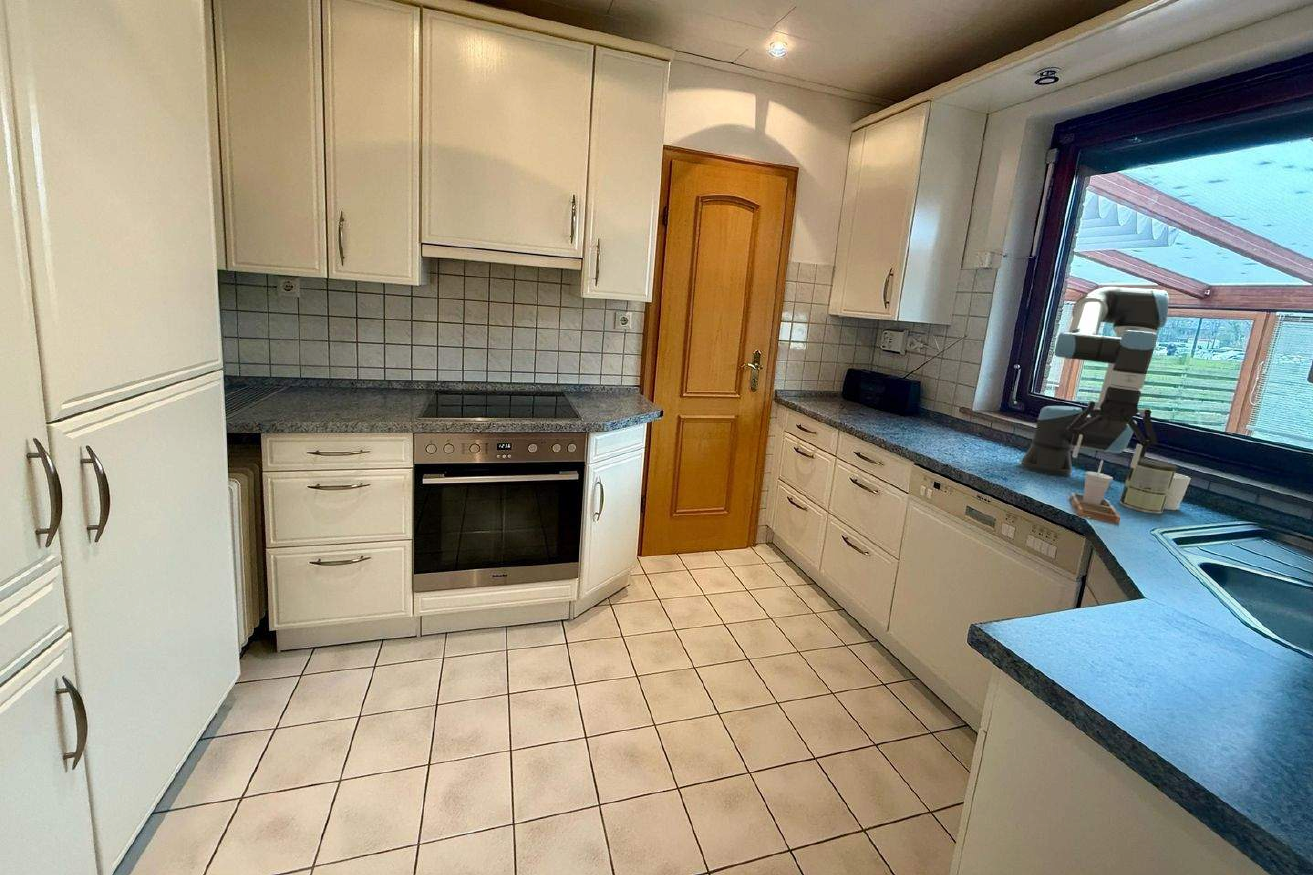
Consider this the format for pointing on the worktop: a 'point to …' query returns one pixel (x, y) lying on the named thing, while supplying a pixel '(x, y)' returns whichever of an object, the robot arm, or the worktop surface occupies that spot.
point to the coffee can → (1148, 485)
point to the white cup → (1176, 491)
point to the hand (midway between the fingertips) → (1103, 462)
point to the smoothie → (1096, 486)
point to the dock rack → (1095, 509)
